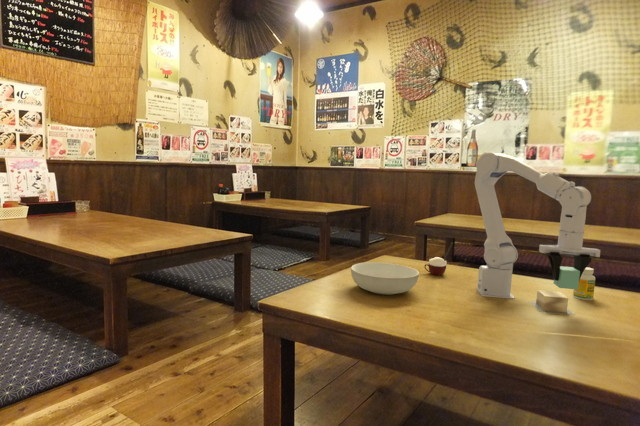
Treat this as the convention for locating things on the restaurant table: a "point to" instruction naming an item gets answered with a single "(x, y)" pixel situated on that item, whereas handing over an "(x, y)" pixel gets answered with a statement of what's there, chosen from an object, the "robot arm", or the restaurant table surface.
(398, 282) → the serving bowl
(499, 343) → the restaurant table surface
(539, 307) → the build pad
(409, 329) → the restaurant table surface
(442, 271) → the cocoa
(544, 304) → the birch block
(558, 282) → the teal cube
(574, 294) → the supplement bottle
